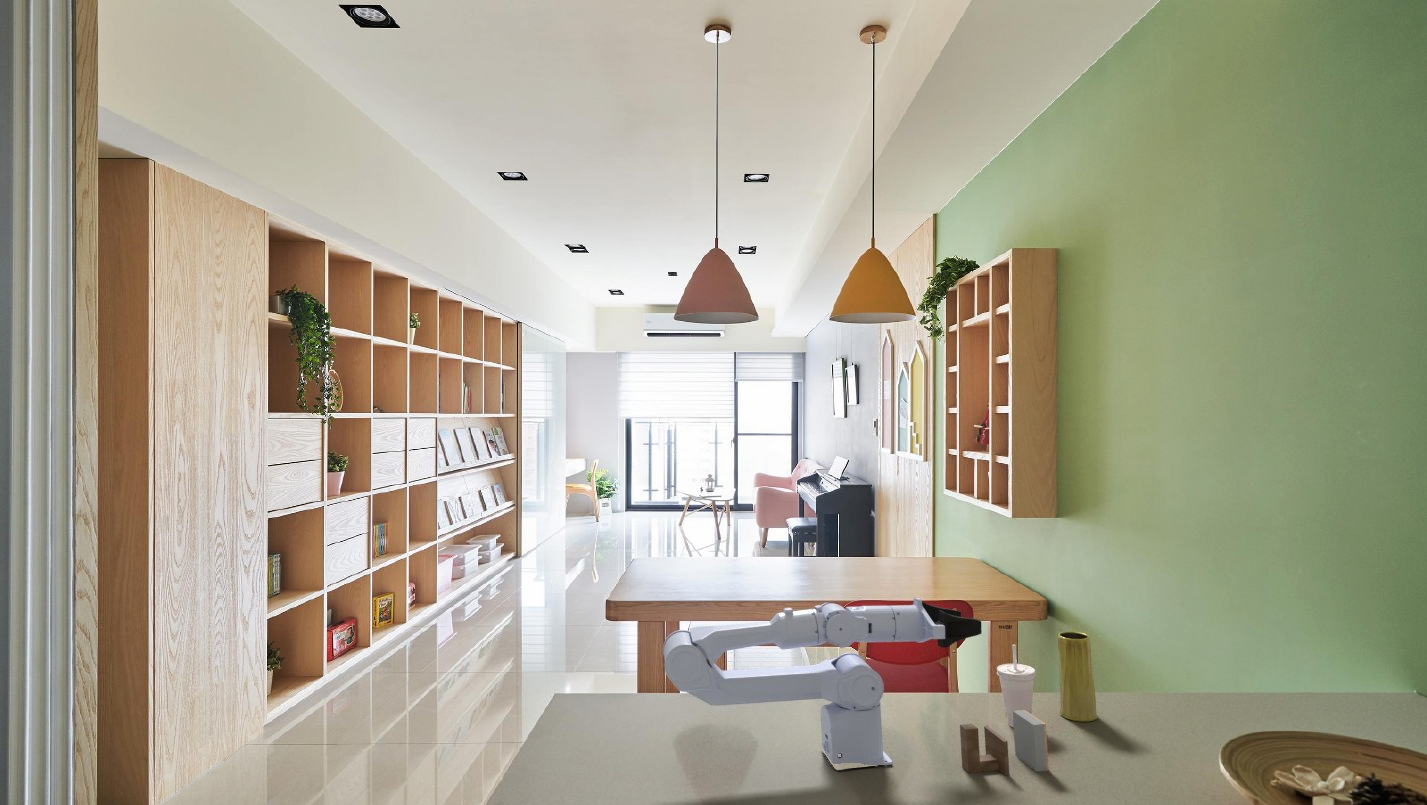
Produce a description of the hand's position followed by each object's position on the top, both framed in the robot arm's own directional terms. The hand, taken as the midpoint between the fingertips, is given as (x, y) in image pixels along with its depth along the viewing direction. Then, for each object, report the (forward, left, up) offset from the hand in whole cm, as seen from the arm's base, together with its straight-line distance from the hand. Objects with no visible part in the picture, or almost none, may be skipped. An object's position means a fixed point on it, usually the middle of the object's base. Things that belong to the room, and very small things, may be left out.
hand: (970, 622), depth 126 cm
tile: (+5, -7, -20) cm, 22 cm away
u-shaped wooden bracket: (-3, -7, -20) cm, 22 cm away
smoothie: (+11, +7, -21) cm, 24 cm away
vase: (+23, +8, -21) cm, 32 cm away
